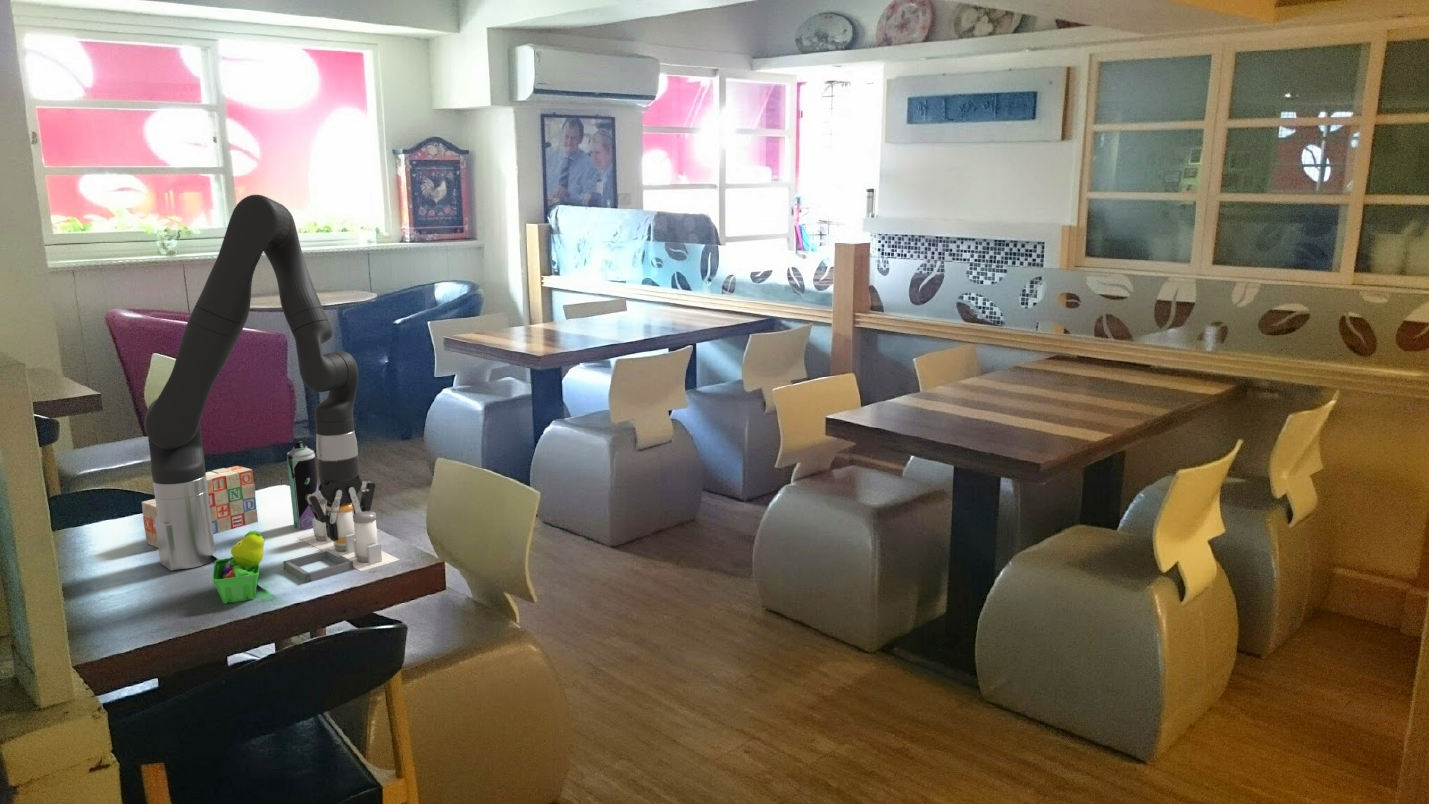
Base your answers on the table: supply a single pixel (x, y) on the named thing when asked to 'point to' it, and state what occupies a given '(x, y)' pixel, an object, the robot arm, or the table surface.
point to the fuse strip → (352, 550)
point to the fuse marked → (344, 525)
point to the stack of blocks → (218, 502)
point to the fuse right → (364, 533)
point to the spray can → (302, 483)
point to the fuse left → (320, 523)
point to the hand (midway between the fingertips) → (345, 536)
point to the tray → (341, 567)
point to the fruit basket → (240, 569)
